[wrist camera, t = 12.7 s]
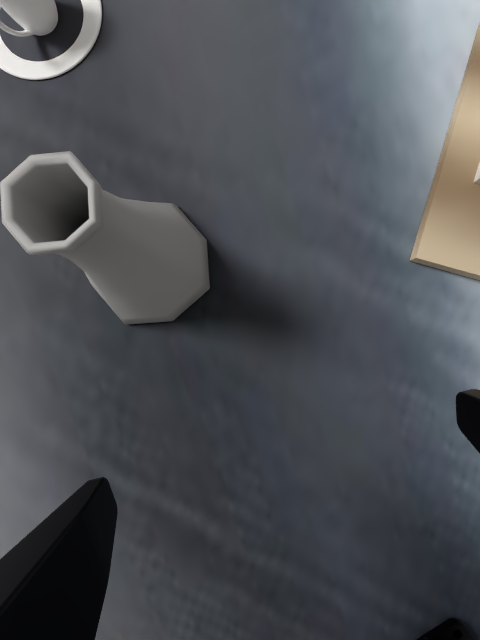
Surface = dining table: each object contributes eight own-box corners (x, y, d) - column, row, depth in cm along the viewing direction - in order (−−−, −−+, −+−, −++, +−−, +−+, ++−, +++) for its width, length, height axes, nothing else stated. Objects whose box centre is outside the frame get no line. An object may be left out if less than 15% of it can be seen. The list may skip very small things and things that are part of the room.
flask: (230, 297, 20) (201, 263, 10) (118, 344, 20) (-18, 356, 10) (184, 186, 21) (112, 48, 11) (75, 233, 21) (-96, 143, 11)
